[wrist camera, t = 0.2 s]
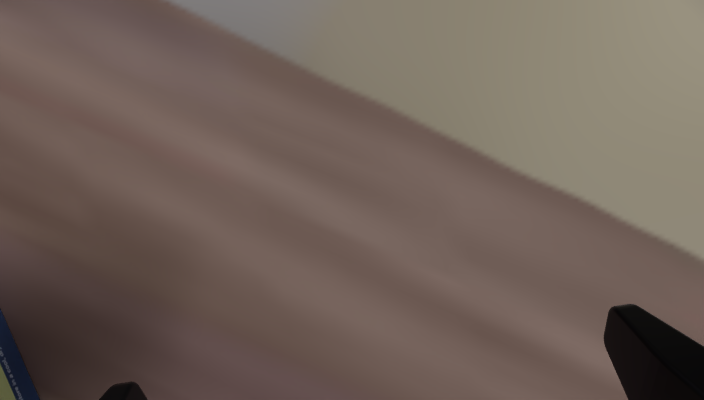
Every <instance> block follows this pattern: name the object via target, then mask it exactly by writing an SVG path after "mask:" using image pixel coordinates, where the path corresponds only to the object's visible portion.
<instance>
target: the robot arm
mask: <svg viewBox="0 0 704 400" xmlns="http://www.w3.org/2000/svg"><path fill="white" fill-rule="evenodd" d="M604 344H605V347H606V350H607V352H608V354H609V357H610V359H611V361H612V363H613V366H614V368H615V370H616V373H617V375H618V377H619V379H620V382H621V384H622V386H623V389H624V391H625V393H626V395H627V398H628V400H704V346H702V345H701V344H699V343H697V342H696V341H694V340H693V339H691V338H689V337H688V336H686V335H684V334H683V333H681V332H679V331H678V330H676V329H675V328H673V327H671V326H670V325H668V324H666V323H665V322H663V321H662V320H660V319H658V318H657V317H655V316H653V315H652V314H650V313H649V312H647V311H645V310H644V309H642V308H640V307H639V306H637V305H634V304H626V305H619V306H614V307H612V308H611V309H610V310H609V312H608V317H607V322H606V327H605V332H604ZM99 400H147V398H146V396H145V395H144V393H143V391H142V390H141V388H140V387H139V385H138V384H137V383H135V382H126V383H119V384H115V385H113V386H112V387H110V388H109V389H108V390H107V391H106V392H105V394H104V395H103V396H102V397H101V398H100V399H99Z"/></svg>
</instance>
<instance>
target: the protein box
mask: <svg viewBox="0 0 704 400" xmlns="http://www.w3.org/2000/svg"><path fill="white" fill-rule="evenodd" d="M0 400H40V399H39V396H38V394H37V392H36V390H35V387H34V385H33V383H32V381H31V378H30V376H29V374H28V371H27V369H26V367H25V365H24V362H23V360H22V358H21V355H20V353H19V351H18V348H17V346H16V344H15V341H14V339H13V337H12V334H11V332H10V330H9V327H8V325H7V323H6V320H5V318H4V316H3V314H2V311H1V309H0Z"/></svg>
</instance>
